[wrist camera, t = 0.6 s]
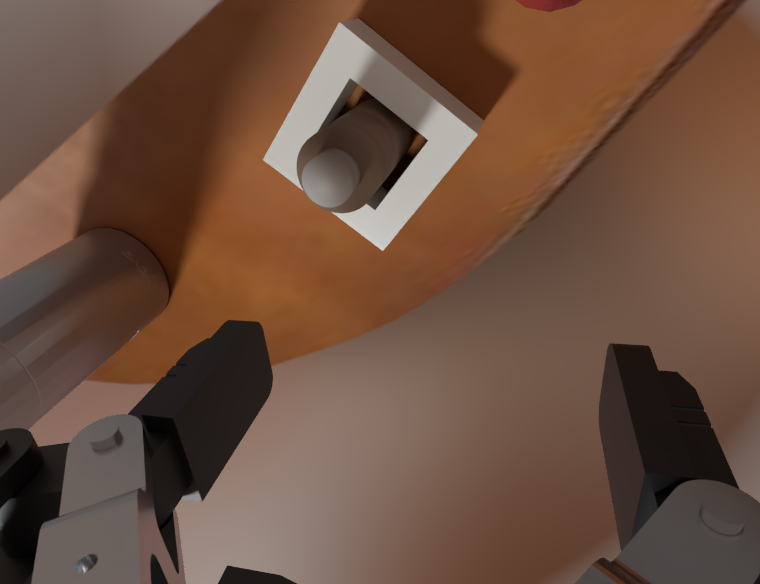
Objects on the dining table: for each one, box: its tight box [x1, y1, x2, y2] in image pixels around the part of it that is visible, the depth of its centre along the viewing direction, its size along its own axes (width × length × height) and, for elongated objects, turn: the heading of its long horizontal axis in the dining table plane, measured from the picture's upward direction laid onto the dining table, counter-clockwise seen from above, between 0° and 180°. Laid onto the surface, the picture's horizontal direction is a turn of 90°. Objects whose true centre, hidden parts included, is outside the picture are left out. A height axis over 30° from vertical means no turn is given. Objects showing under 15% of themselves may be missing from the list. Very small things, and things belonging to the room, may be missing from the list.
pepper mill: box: [296, 98, 412, 213], centre depth 30 cm, size 4×4×10 cm
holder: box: [263, 18, 484, 251], centre depth 33 cm, size 10×10×4 cm
